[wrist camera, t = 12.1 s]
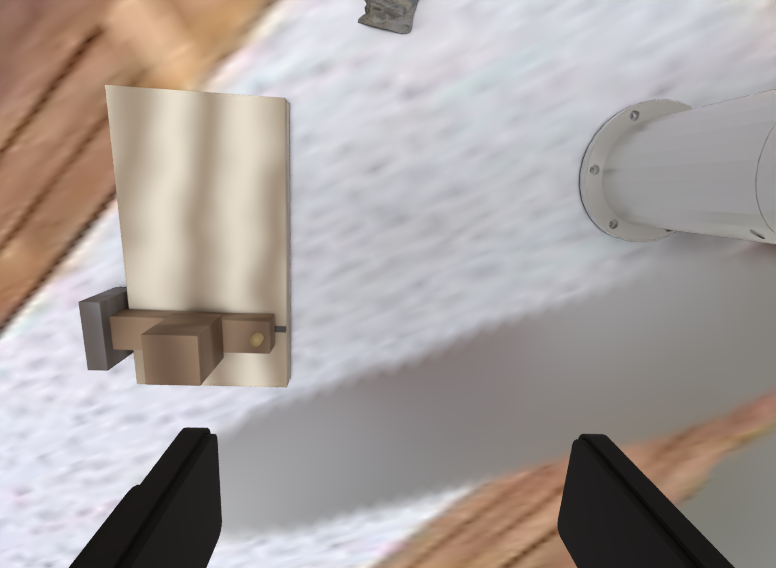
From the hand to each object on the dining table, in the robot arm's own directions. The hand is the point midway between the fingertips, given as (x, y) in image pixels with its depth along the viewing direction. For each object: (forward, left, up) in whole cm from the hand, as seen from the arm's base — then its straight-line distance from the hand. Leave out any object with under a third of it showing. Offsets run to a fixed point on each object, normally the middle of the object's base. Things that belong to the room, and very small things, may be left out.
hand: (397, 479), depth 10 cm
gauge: (+16, +6, -28) cm, 33 cm away
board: (+15, -1, -28) cm, 32 cm away
